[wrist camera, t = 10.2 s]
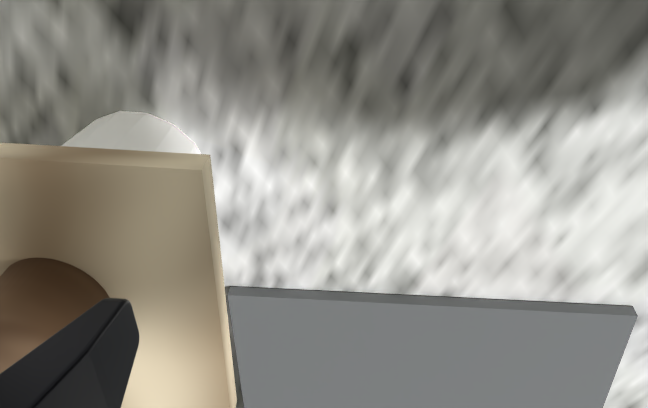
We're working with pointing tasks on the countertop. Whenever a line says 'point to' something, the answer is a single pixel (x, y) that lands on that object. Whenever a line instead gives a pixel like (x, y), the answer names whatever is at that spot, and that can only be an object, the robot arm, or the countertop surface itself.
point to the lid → (118, 262)
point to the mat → (423, 350)
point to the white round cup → (133, 134)
